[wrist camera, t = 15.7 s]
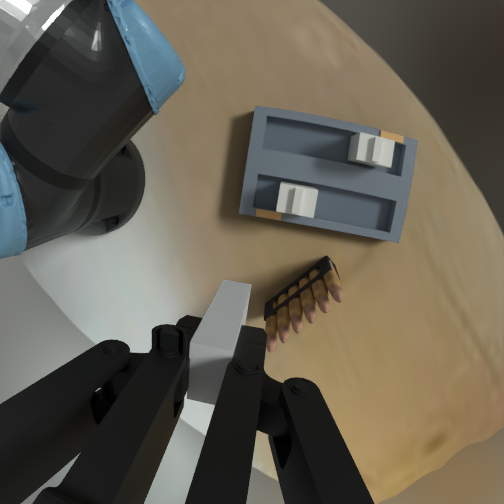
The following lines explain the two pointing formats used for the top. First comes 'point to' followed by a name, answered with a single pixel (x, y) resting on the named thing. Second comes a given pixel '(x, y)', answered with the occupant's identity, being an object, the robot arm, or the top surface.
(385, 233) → the switch bank
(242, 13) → the top surface
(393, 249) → the top surface
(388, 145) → the tab
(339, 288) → the ammunition clip
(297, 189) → the tab
